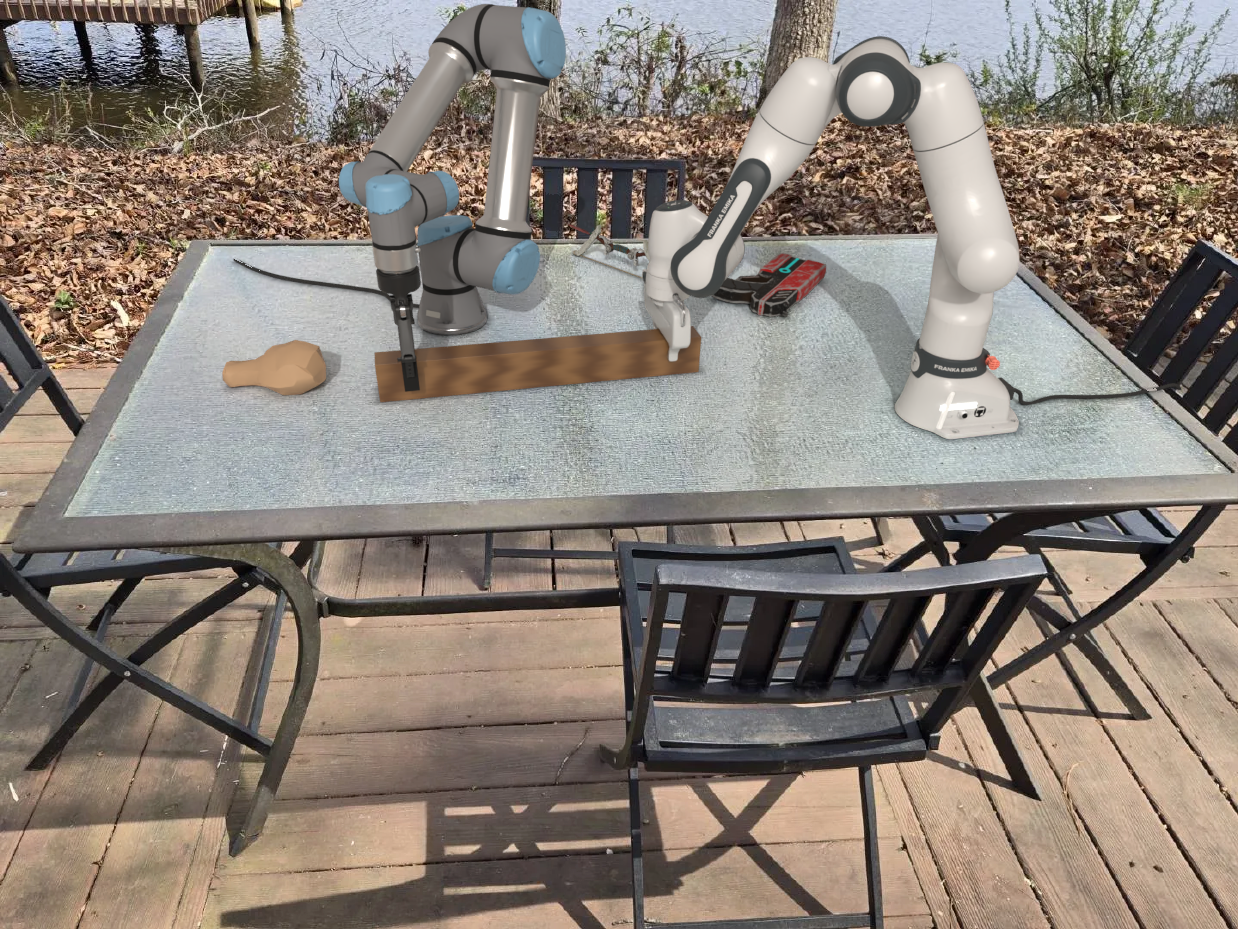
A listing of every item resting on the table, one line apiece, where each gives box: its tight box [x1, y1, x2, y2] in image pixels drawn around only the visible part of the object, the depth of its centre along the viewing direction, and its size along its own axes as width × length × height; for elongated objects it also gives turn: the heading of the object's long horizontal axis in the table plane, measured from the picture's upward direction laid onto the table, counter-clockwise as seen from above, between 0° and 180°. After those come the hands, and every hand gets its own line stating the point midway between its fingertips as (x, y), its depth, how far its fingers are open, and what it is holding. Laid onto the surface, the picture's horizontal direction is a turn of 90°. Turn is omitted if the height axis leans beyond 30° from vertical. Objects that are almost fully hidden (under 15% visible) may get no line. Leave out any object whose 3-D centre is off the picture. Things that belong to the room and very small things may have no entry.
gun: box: [711, 252, 827, 318], centre depth 215 cm, size 4×31×19 cm
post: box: [373, 325, 702, 403], centre depth 173 cm, size 64×5×8 cm, turn 104°
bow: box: [567, 223, 650, 279], centre depth 222 cm, size 39×2×10 cm, turn 47°
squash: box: [221, 339, 327, 396], centre depth 168 cm, size 11×20×9 cm, turn 90°
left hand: (410, 373), depth 167 cm, fingers open, 13 cm apart
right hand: (665, 349), depth 178 cm, fingers open, 8 cm apart
